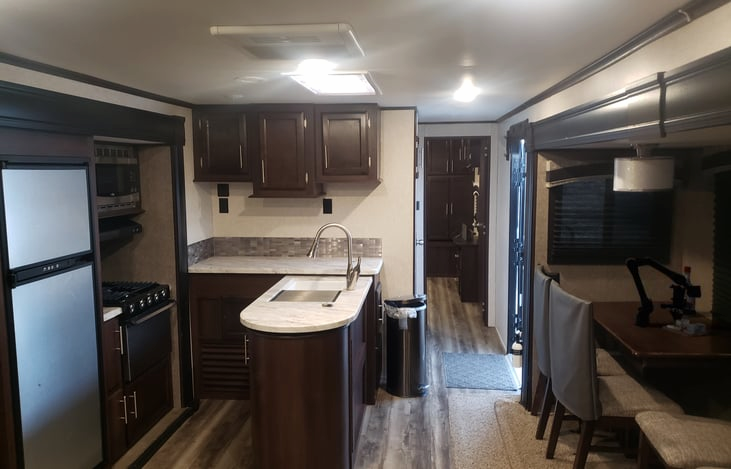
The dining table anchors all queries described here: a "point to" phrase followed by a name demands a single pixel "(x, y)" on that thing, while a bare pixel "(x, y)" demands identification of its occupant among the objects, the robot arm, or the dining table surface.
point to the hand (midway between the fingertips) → (677, 324)
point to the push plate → (682, 323)
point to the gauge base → (688, 329)
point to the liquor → (689, 299)
